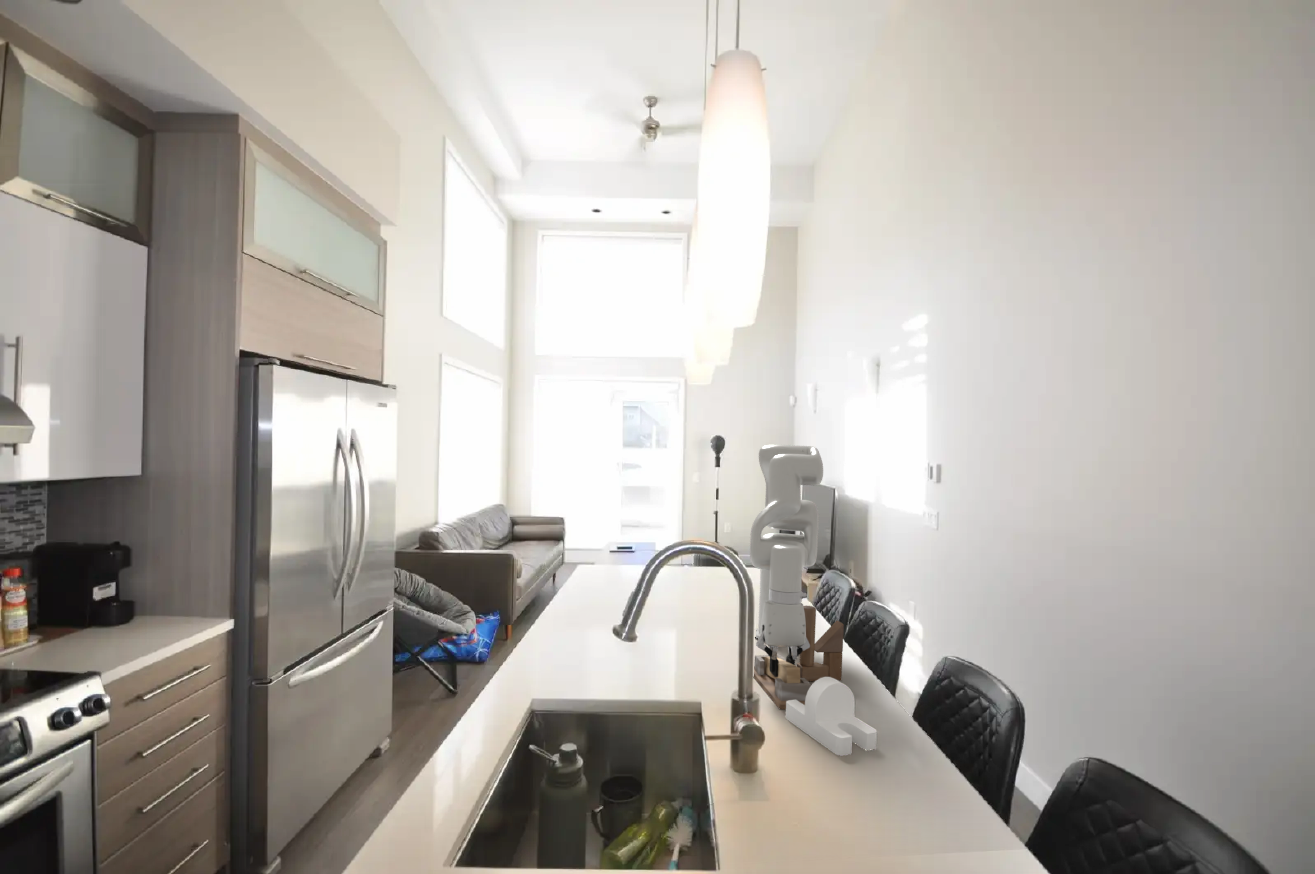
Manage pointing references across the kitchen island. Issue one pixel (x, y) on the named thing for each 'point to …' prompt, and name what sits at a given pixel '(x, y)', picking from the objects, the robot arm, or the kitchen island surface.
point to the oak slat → (784, 671)
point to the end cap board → (779, 685)
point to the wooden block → (821, 650)
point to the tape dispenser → (831, 717)
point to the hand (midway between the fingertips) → (781, 674)
